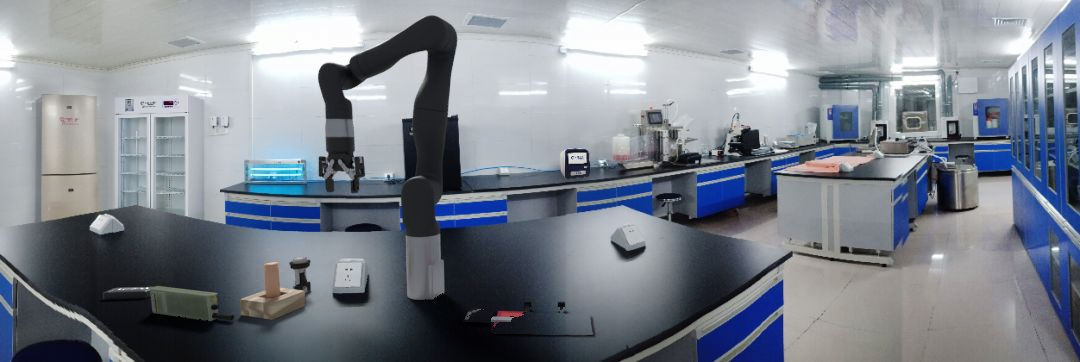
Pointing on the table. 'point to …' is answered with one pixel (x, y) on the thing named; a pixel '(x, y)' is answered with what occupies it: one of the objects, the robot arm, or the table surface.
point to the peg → (272, 280)
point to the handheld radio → (186, 303)
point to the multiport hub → (127, 293)
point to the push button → (300, 273)
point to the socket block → (272, 304)
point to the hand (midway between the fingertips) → (342, 192)
